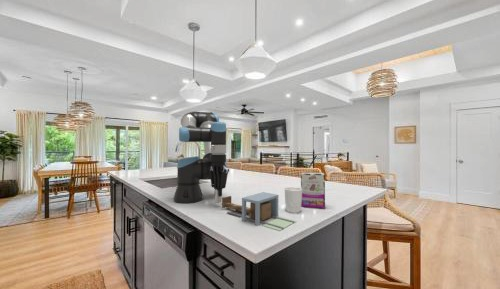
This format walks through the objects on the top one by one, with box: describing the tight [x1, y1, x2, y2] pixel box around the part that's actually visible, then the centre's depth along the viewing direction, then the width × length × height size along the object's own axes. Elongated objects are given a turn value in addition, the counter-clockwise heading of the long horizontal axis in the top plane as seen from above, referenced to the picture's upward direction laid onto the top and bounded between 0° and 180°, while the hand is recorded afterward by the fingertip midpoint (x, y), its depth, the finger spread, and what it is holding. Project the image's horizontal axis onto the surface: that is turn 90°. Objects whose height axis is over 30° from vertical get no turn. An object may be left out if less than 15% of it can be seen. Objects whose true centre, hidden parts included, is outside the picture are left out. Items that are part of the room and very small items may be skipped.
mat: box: [262, 216, 297, 232], centre depth 82 cm, size 8×12×1 cm, turn 140°
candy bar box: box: [300, 172, 326, 210], centre depth 105 cm, size 11×5×16 cm, turn 73°
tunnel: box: [226, 191, 295, 231], centre depth 89 cm, size 28×14×9 cm, turn 50°
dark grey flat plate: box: [226, 210, 249, 219], centre depth 95 cm, size 8×10×1 cm
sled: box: [221, 195, 271, 222], centre depth 94 cm, size 24×6×6 cm, turn 50°
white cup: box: [284, 186, 302, 214], centre depth 99 cm, size 8×8×10 cm
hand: (218, 202), depth 105 cm, fingers closed
